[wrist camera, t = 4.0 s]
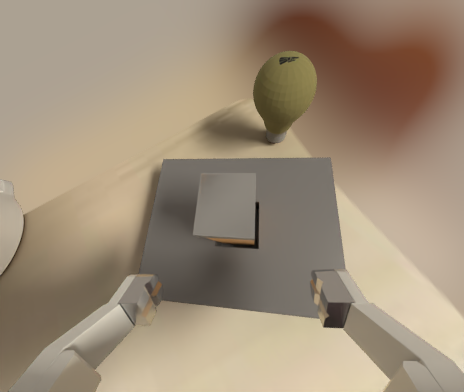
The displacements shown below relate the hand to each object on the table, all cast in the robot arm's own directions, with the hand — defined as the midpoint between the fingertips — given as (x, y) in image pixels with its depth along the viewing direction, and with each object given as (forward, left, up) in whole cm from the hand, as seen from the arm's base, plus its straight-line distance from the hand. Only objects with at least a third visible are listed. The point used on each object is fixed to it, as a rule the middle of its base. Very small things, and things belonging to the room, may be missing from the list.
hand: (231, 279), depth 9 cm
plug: (-1, +4, -9) cm, 10 cm away
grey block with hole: (-1, +4, -10) cm, 10 cm away
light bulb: (+3, +16, -10) cm, 19 cm away
